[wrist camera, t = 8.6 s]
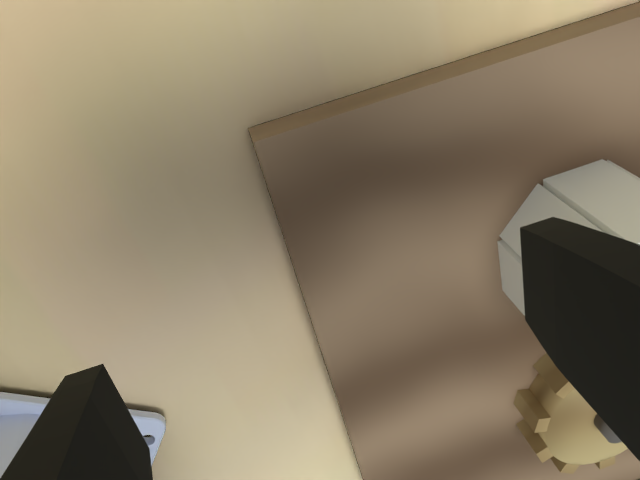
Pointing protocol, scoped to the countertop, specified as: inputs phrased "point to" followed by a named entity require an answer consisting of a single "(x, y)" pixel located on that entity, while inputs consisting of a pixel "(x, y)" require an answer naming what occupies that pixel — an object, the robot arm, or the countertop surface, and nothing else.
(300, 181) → the gear board
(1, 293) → the countertop surface
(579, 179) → the hollow cylinder
